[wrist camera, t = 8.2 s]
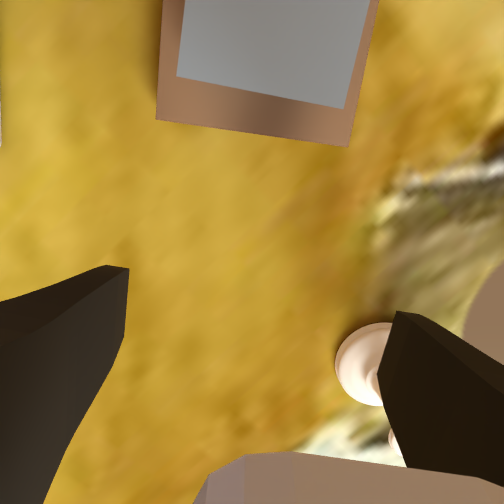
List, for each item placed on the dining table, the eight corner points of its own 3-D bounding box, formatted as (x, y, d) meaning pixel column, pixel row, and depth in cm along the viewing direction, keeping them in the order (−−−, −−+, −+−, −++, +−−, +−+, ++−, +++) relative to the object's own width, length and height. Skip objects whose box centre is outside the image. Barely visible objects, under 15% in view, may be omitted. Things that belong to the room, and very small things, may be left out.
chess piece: (404, 306, 23) (503, 455, 14) (439, 376, 25) (549, 553, 16) (319, 346, 24) (359, 511, 15) (357, 411, 26) (415, 599, 16)
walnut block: (167, 115, 21) (155, 119, 18) (181, -93, 18) (170, -119, 16) (338, 139, 21) (348, 147, 19) (378, -61, 18) (396, -82, 16)
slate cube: (197, 78, 18) (176, 76, 13) (217, -70, 16) (201, -133, 11) (320, 103, 18) (343, 109, 13) (353, -40, 16) (392, -90, 12)
